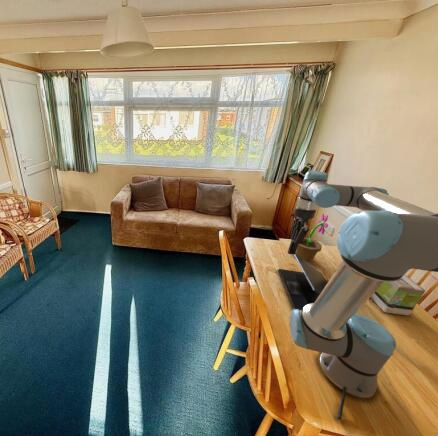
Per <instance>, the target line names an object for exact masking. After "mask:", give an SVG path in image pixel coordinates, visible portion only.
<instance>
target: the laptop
mask: <svg viewBox="0 0 438 436" xmlns="http://www.w3.org/2000/svg"><path fill="white" fill-rule="evenodd" d="M277 272H278V275H279V277H280V280H281V283H282V285H283V288H284V290H285V292H286V295H287V298H288V300H289V303H290V305H291V308H292V310H293V309H298V310H301V311H302V310H303V308H304V307H305V306H306V305H308V304H311V303H314V302H315V301H316V300H317V298H318V297H319V294H317V293H316V292H315V291H313V289H312V287H311V285H310V283H309V282H308V280H307V278H306V276H305V274H304V272H303V271H299V270H297V271H296V270H289V269H283V268H278V270H277Z"/></svg>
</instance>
